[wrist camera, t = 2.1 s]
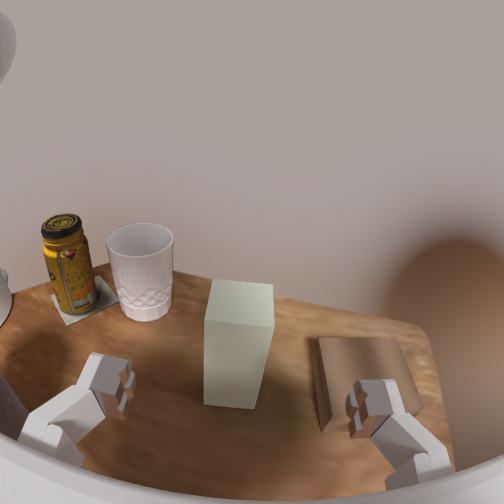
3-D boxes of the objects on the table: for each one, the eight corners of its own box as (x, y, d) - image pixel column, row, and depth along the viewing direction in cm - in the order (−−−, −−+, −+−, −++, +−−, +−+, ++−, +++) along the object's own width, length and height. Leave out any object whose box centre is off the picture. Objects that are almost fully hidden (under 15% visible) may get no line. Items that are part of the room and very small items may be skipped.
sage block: (203, 404, 28) (204, 319, 22) (209, 366, 32) (212, 278, 26) (254, 409, 28) (274, 327, 22) (255, 370, 33) (272, 284, 26)
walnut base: (320, 434, 27) (332, 415, 25) (309, 360, 35) (318, 337, 33) (405, 426, 27) (423, 407, 25) (384, 360, 36) (396, 338, 34)
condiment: (50, 296, 37) (30, 219, 31) (99, 275, 43) (88, 201, 37) (67, 327, 33) (42, 244, 27) (121, 302, 39) (110, 220, 33)
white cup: (178, 287, 43) (177, 223, 38) (172, 328, 37) (168, 259, 31) (124, 284, 42) (117, 221, 37) (110, 322, 36) (96, 254, 30)
